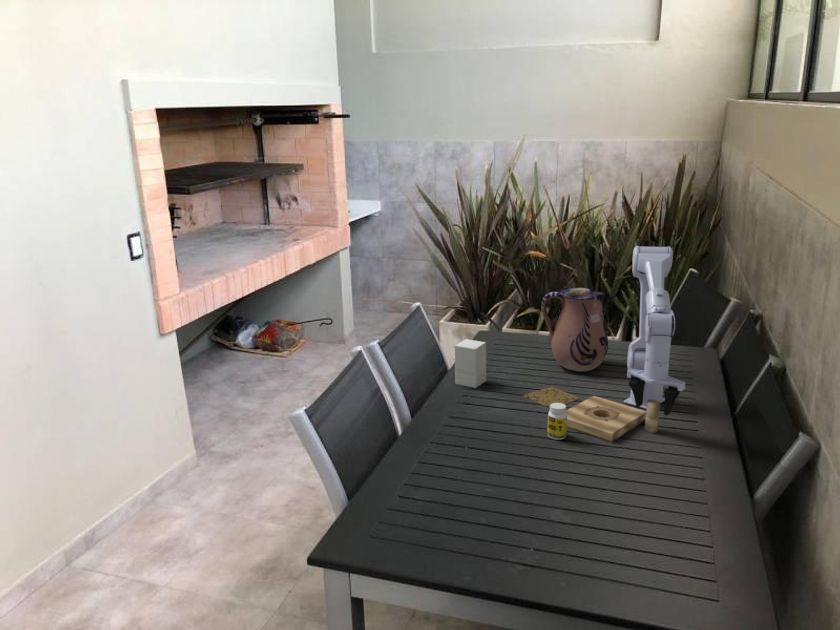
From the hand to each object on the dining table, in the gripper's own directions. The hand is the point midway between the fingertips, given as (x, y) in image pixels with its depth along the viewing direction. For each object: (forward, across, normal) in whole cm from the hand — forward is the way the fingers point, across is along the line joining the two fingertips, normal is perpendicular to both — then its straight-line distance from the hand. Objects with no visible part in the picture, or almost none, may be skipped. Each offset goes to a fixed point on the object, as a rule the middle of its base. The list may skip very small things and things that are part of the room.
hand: (653, 409), depth 175 cm
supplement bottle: (+6, -16, -19) cm, 26 cm away
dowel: (+6, 0, 0) cm, 6 cm away
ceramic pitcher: (+6, -40, +26) cm, 48 cm away
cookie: (+6, -31, +1) cm, 32 cm away
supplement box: (+6, -56, -6) cm, 57 cm away
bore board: (+6, -12, -4) cm, 14 cm away
